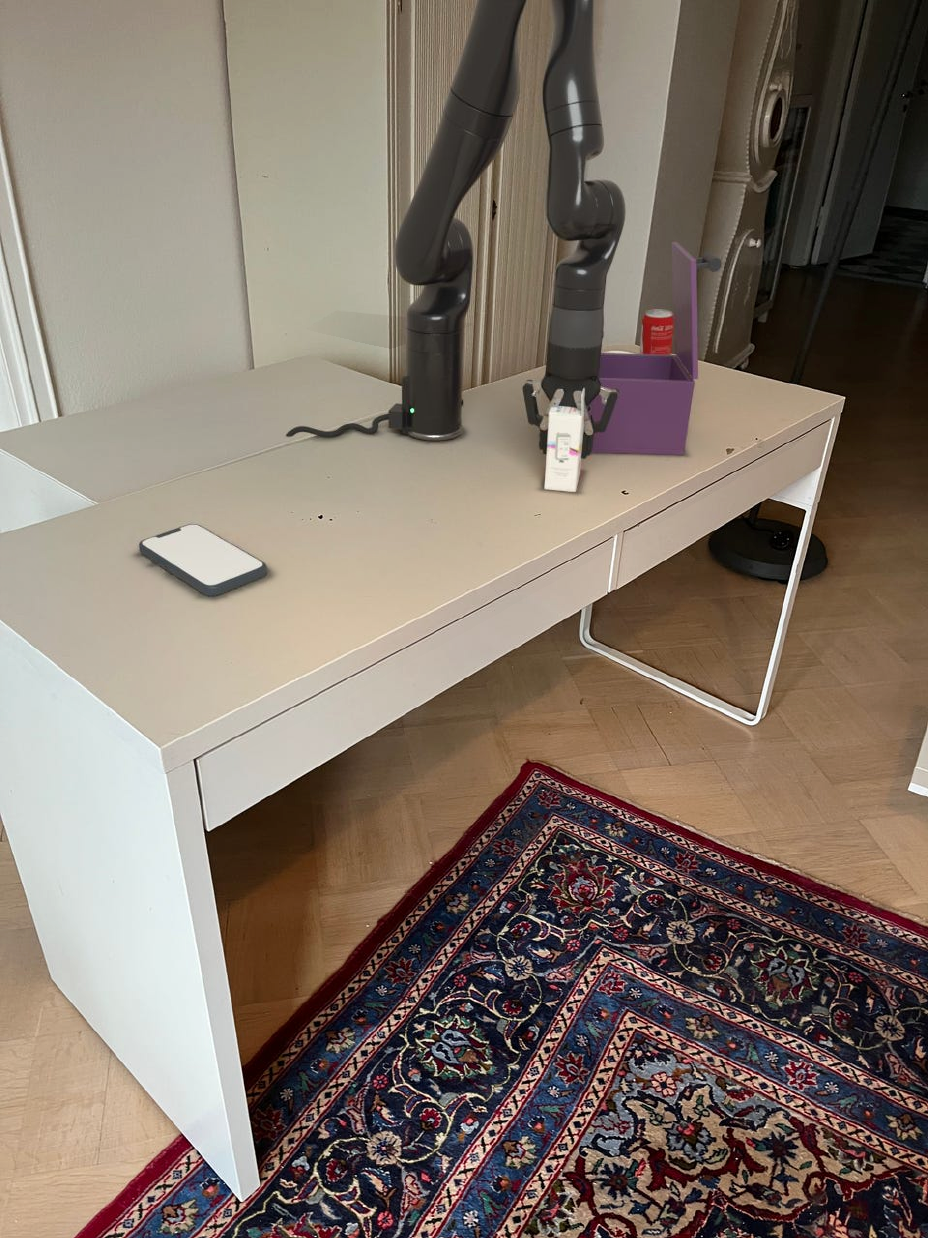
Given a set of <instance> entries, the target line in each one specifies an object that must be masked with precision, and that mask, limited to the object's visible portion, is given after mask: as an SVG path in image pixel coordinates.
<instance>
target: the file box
mask: <svg viewBox="0 0 928 1238" xmlns="http://www.w3.org/2000/svg"><path fill="white" fill-rule="evenodd" d="M599 380H600V383H601V386H602V387H605V388H608V389H611V390H612V389H614V388H616V389H618V390H619V395H618V398H617V401H616V403H615V406H614V409H613V412H612V415H611V417H610V420H609V423H608V426H607V428H606V431H605V432H603V433H601V432H597V433H595V434H594V438H593V449H592V452H591V453H595V454H596V453H598V454H628V455H629V454H631V455H633V454H634V455H662V456H663V455H665V456H684V455H685V449H686V445H687V436H688V431H689V424H690V418H691V411H692V410H691V409H692V405H693V397H694V393H695V392H694V391H695V386H696V385H695V384H696V382H695V379H692V377H691V376H690V374H689V373H688V371H687V370H686V368H685V367H684V365H683V364H682V362H681V361H680V359H679V358H678V356H677V355H676V354H671V355H660V354H639V353H621V352H601V360H600V370H599ZM590 405H591V408H592V415H593V418H594V422H597V421H600V420H601V417H602V414H603V411H604V409H605V406H606V405H605V404H603V403H602V396H601V395H600V394H598V395H597V396H596V398H595V399H594V400H593V401H592V402H591V403H590Z"/></svg>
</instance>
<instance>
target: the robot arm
mask: <svg viewBox="0 0 928 1238" xmlns="http://www.w3.org/2000/svg"><path fill="white" fill-rule="evenodd" d="M549 3H550V8H551V16H552V31H551V41H550V44H549V45H550V46H549V50H548V54H547V58H546V63H545V68H544V71H543V78H542V84H541V87H542V88H541V100H542V101H541V103H542V111H543V118H544V125H545V132H546V137H547V143H548V161H547V172H546V185H545V196H544V212H545V217H546V222H547V224H548V226H549V228H550V230H551V231H552V233H553V234H554V235H555V236H556V237H557V239H559V240H561V241H564V242H577V245H576V248H575V250H574V251H573V252H572V253H571V254H570V255H569V256H566V257H565V258H562V259H561V260H559V261H558V262H557V264H556V266H555V269H554V275H553V286H552V289H553V290H552V301H551V304H552V305H551V309H550V314H549V320H548V332H547V347H546V360H545V372H544V376H543V378H542V380H534V381H533V380H532V379H527V380H526V381H525V382H524V384H523V386H522V394H523V401H524V407H525V412H526V417H527V422H528V424H529V425H532V426H533V425H534V426H536V427H538V429H539V438H538V439H539V440H538V448H539V450H540V451H542V455H547V439H548V423H549V411H550V409H551V407H558V406H565V407H573V408H578V410H581V393H582V391H583V388H585V396H584V430H585V432H584V434H583V441H582V451H581V459H582V460H586V459H587V457H588V456H590V455H591V453H592V449H593V438H594V434H595V433H597V432H601V433H603V432H605V431H606V428H607V426H608V423H609V420H610V417H611V415H612V412H613V409H614V406H615V403H616V401H617V398H618V395H619V390H618V389H616V388H614V389H612V390H611V389H608V388H605V387H602V386H601V383H600V380H599V370H600V360H601V353H602V348H603V339H604V336H605V331H604V330H605V329H604V328H605V312H604V311H605V298H606V291H607V290H606V287H607V277H608V273H609V270H610V268H611V265H612V263H613V261H614V258H615V255H616V250H617V248H618V245H619V243H620V239H621V237H622V234H623V230H624V226H625V221H626V202H625V197H624V194H623V191H622V190H621V188H620V186H619V185H618V184H616V183H615V182H614V181H612V180H609V179H592V180H591V179H590V180H585V171H586V165H587V162H588V161H591V160H593V159H595V158H597V157H598V156H599V155H601V153H602V152H603V150H604V146H605V137H604V128H603V119H602V113H601V106H600V100H599V99H600V98H599V92H598V91H599V90H598V83H597V76H596V75H597V74H596V61H595V38H594V37H595V22H594V21H595V1H594V0H549ZM526 4H527V0H476V2H475V7H474V9H473V13H472V17H471V21H470V24H469V26H468V27H469V28H468V30H467V34H466V37H465V40H464V44H463V48H462V51H461V54H460V58H459V60H458V64H457V66H456V70H455V72H454V75H453V78H452V80H451V84H450V86H449V89H448V92H447V96H446V98H445V99H446V100H445V102H444V105H443V108H442V112H441V116H440V120H439V124H438V127H437V130H436V133H435V136H434V139H433V142H432V145H431V148H430V150H429V153H428V157H427V159H426V162H425V165H424V168H423V171H422V174H421V177H420V180H419V182H418V184H417V188H416V189H415V192H414V194H413V197H412V199H411V201H410V204H409V206H408V208H407V211H406V213H405V215H404V217H403V219H402V221H401V224H400V226H399V229H398V232H397V235H396V238H395V243H394V249H393V251H394V253H393V254H394V264H395V267H396V271H397V273H398V275H399V276H400V278H401V279H402V280H403V281H404V282H405V283H406V284H408V285H411V286H421V287H422V286H423V288H422V290H421V292H420V293H419V295H418V297H417V298H416V299H414V301H413V302H412V303H410V305H408V307H407V308H406V311H405V374H404V375H403V376H402V377H401V403H395V404H394V405H392V407H391V408H389V409H388V411H387V412H388V413H385V414H381V415H378V416H377V417H375V418H374V419H373V420H372V424H371V426H372V427H365V426H363V425H361V424H359V423H357V422H356V423H355V422H350V423H344V424H343V425H341V426H340V427H338V428H337V429H335V430H331V431H329V430H327V431H326V430H321V429H317V428H314V427H310V426H306V425H299V426H296V427H295V426H294V427H293V428H291V429H290V430H289V431H288V432H286V434H285V437H287V438H291V437H293V436H295V435H296V434H298V433H308V434H311V435H314V436H318V437H323V438H334V437H338V436H340V435H343V433H344V432H346V431H348V430H357V431H359V432H361V433H363V434H366V435H372V434H375V433H377V431H378V429H379V424H380V423H381V422H384V421H388V422H387V423H388V424H387V425H388V429H391V430H400V431H401V434H402V435H406V436H409V437H411V438H414V439H417V440H422V441H428V442H429V441H431V442H438V441H439V442H440V441H441V442H442V441H448V440H452V439H455V438H458V437H459V436H461V435H462V433H463V432H462V431H463V425H462V423H463V421H462V420H463V417H462V416H463V414H462V412H463V407H464V399H463V383H464V380H463V379H464V345H465V343H464V341H465V340H464V339H465V319H466V316H467V314H468V311H469V309H470V306H471V305H470V304H471V297H472V295H471V294H472V284H473V283H472V282H473V281H472V280H473V269H474V246H473V245H474V244H473V241H472V240H473V239H472V236H471V233H470V231H469V228H468V227H467V226H466V224H465V223H464V222H463V221H462V220H461V219H459V218H457V217H455V216H456V213H457V211H458V209H459V207H460V205H461V203H462V202H463V200H464V198H465V197H466V195H467V194H468V193H469V191H470V190H471V189H472V188H473V187H474V185H475V184H476V183H477V182H478V180H480V179H481V177H482V175H483V174H485V171H487V169H488V168H489V166H490V165H491V164H492V163H493V161H494V160H495V158H496V157H497V156H498V154H499V152H500V151H501V148H502V147H503V145H504V142H505V140H506V138H507V134H508V132H509V129H510V127H511V124H512V121H513V118H514V116H515V113H516V110H517V108H518V104H519V100H520V93H521V74H520V62H519V61H520V60H519V51H518V49H519V48H518V38H519V37H518V35H519V30H520V29H519V28H520V24H521V20H522V15H523V13H524V9H525V6H526ZM541 389H542V391H543V393H544V395H545V396H546V398H547V399H548V401H549V405H548V407H547V409H546V411H545V413H544V415H542V414H540V413H539V406H538V400H537V397H538V395H539V394H540V390H541ZM598 394H600V395H601V396H602V403H603V404H605V405H606V406H605V409H604V411H603V414H602V417H601V420H600V421H597V422H594V418H593V415H592V408H591V405H590V403H591V402H592V401H593V400H594V399H595V398H596V396H597V395H598Z"/></svg>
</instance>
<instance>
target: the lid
mask: <svg viewBox="0 0 928 1238" xmlns="http://www.w3.org/2000/svg"><path fill="white" fill-rule="evenodd" d="M671 265H672V267H671V269H672V303H673V319H674V327H673V339H674V353H675V355H677V357H678V358H679V359H680V361H681V362H682V364H683V365H684V367H685V368H686V370H687V371H688V373H689V374H690V376H691V377H692V379H693V380H698V379H699V356H698V355H699V352H698V350H699V349H698V348H699V345H698V344H699V343H698V296H697V295H698V293H697V287H698V286H697V285H698V284H697V271H698V270H704V269H708V270H709V271H710V272H713V273H716V272H718V271H720V269H721V268H722V266H723V263H722V260H721V259H720V258H719V257H718V256H717V255H716V254H715V253H713V252H711V251H706V252H705V253H704V254H702V256H701V257H693V256H692V255H691V254H690V253H689V252H688V251H687V250H686V249H685V248H684V247H683V246H682V245H681V244H680V243H678V242H677V241H671Z"/></svg>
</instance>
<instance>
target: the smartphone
mask: <svg viewBox="0 0 928 1238" xmlns="http://www.w3.org/2000/svg"><path fill="white" fill-rule="evenodd" d="M138 548H139V553H140V554H141V555H142V556H144V557H146V558H147V559H149V560H150V561H152V562H154V563H155V564H156V565H158V566H159V567H161V568H163V569H165V571H167V572H169V573H170V574H172V575H173V576H175V577H176V578H178V579H180V580H181V581H183V582H184V583H186V584H188V585H189V586H190V587H192V588H194V589H195V590H196V591H198V592H199V593H201V594H203V595H204V596H207V597H217V596H220V595H223V594H225V593H227V592H229V591H232V590H235V589H237V588H239V587H242V586H244V585H247V584H250V583H252V582H254V581H257V580H260V579H262V578H264V577H266V576H267V573H268V570H267V569H268V568H267V564H266V562H264V561H262V560H261V559H259V558H257V557H255V556H254V555H253V554H250V553H249V552H247V551H245V550H243V549H242V548H240V547H238V546H237V545H235V544H233V543H231V542H230V541H228V540H226V539H225V538H223V537H221V536H219V535H218V534H216V533H214V532H212V531H211V530H209V529H207V528H205V526H203V525H200V524H198V523H189V524H188V523H187V524H186V525H182V526H179V527H176V528H174V529H171V530H168V531H165V532H162V533H159V534H156V535H153V536H150V537H147V538H144V539H142V540H141V541H140V542H139V543H138Z"/></svg>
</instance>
